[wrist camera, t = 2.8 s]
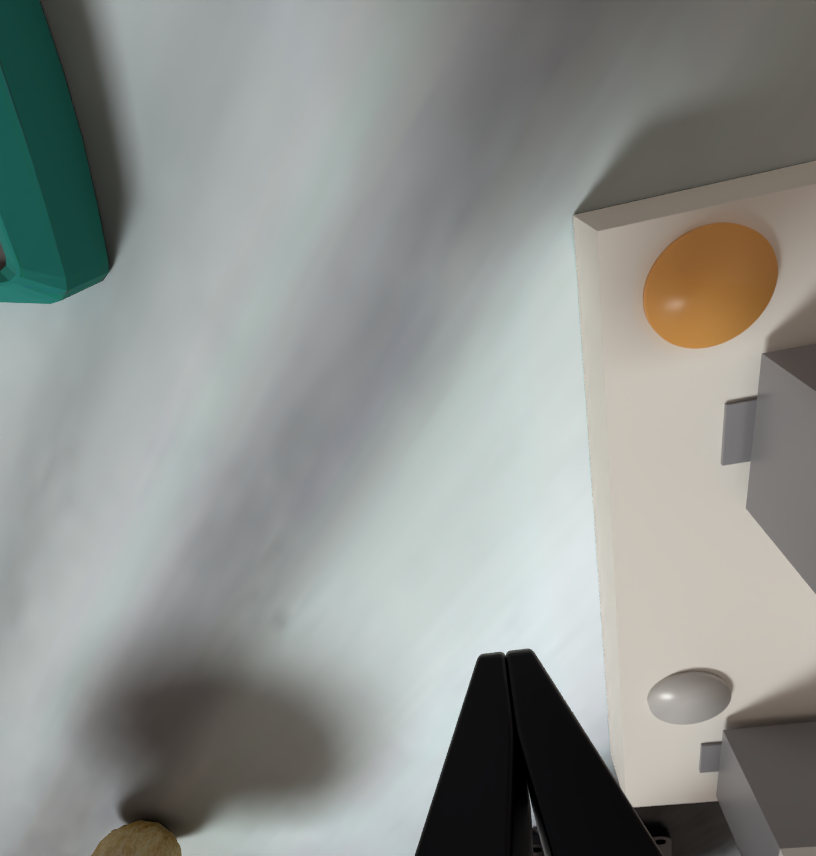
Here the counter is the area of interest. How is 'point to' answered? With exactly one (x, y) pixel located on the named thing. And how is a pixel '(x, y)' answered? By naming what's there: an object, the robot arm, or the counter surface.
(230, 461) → the counter surface
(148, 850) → the decorative mushroom
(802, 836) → the plain breaker lever
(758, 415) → the orange-topped grey block
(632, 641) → the panel
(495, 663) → the robot arm
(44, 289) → the digital multimeter
